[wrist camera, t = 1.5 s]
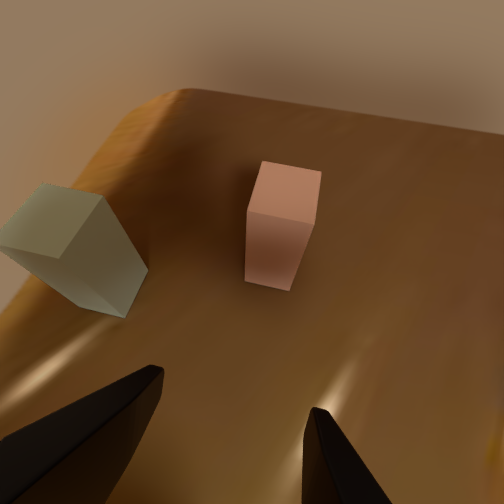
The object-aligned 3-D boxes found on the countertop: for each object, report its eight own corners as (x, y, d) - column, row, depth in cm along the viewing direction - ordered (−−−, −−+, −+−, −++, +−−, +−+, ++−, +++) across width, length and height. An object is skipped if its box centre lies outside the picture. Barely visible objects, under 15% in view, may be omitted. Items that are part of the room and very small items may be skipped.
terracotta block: (289, 291, 24) (314, 224, 16) (244, 281, 24) (246, 210, 16) (296, 248, 26) (321, 171, 18) (255, 240, 27) (262, 160, 18)
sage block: (124, 318, 22) (58, 258, 14) (79, 306, 22) (-12, 242, 14) (148, 270, 24) (103, 195, 16) (106, 260, 25) (42, 182, 17)
